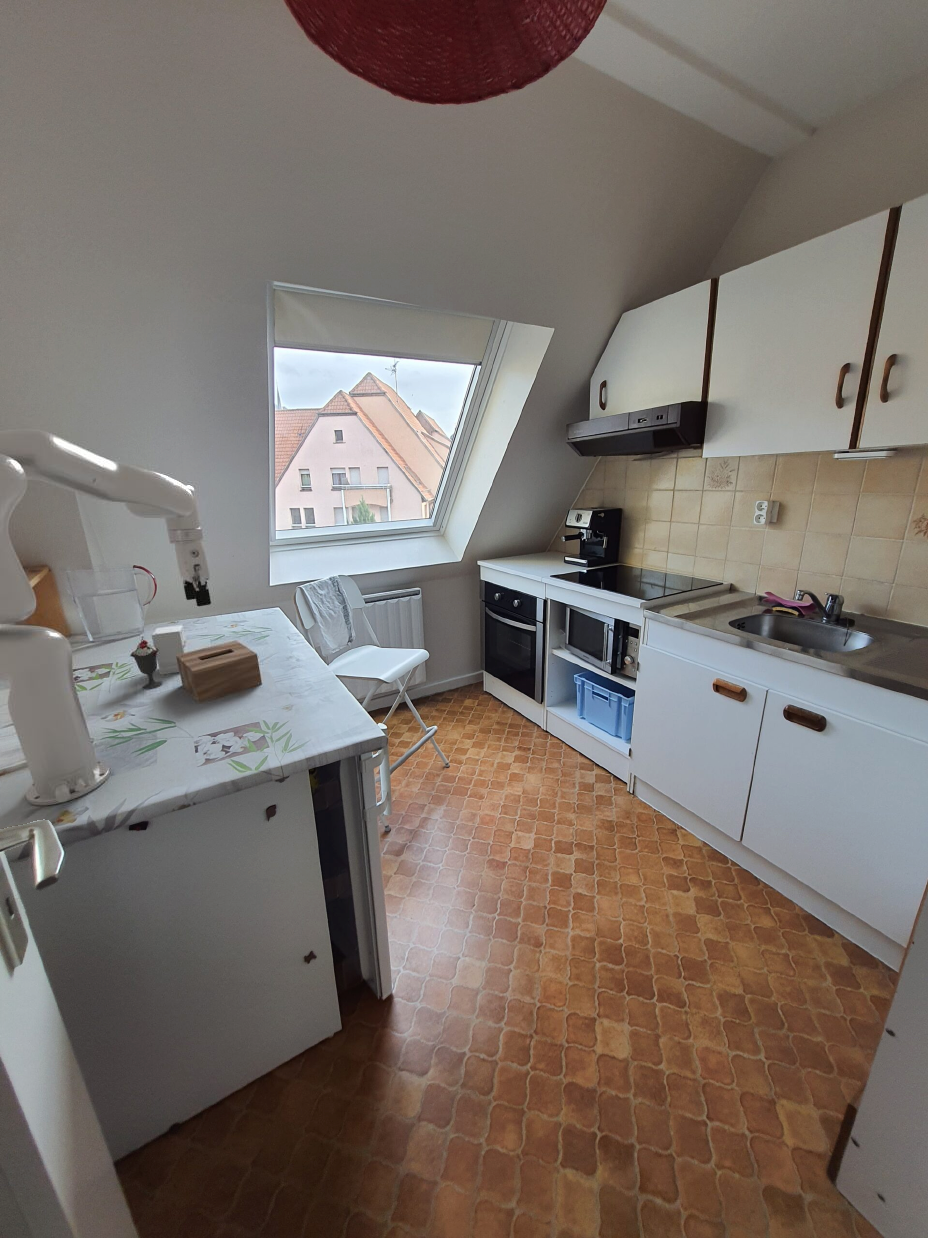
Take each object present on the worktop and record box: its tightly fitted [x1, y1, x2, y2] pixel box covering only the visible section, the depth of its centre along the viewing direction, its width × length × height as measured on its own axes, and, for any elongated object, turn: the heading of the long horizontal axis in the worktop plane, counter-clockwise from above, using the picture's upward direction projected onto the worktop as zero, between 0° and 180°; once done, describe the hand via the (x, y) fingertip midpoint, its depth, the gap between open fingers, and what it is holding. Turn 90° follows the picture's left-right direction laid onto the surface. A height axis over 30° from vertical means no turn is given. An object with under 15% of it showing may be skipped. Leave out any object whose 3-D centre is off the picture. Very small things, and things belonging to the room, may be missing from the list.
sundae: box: [129, 636, 164, 690], centre depth 132 cm, size 7×7×15 cm
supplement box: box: [151, 624, 189, 675], centre depth 144 cm, size 7×7×13 cm
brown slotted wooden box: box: [176, 640, 263, 704], centre depth 132 cm, size 16×16×9 cm
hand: (198, 602), depth 125 cm, fingers open, 9 cm apart
